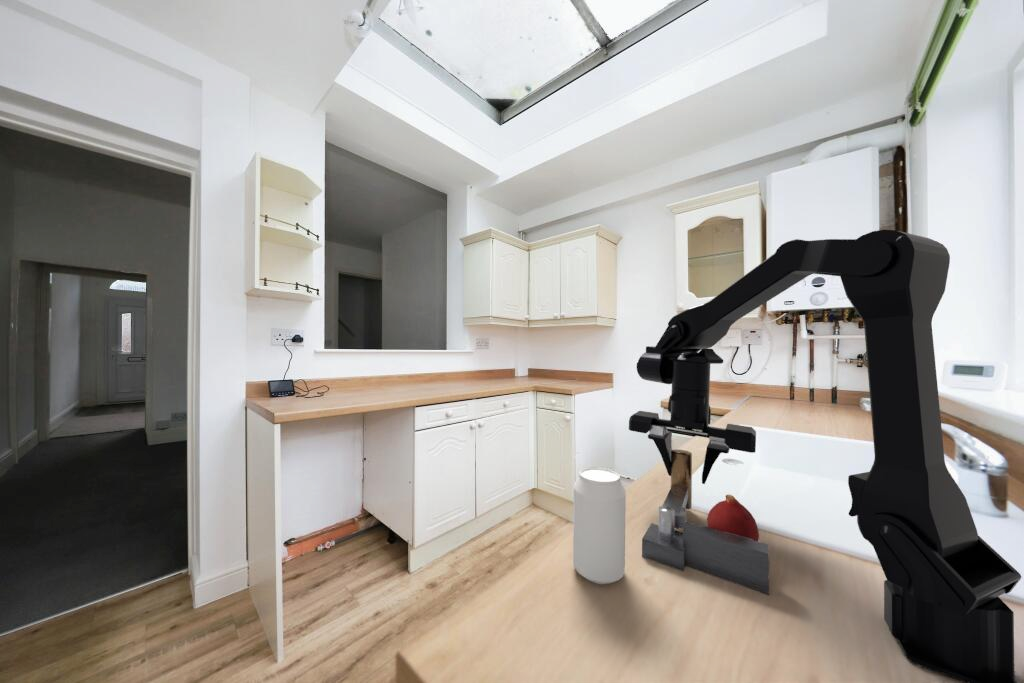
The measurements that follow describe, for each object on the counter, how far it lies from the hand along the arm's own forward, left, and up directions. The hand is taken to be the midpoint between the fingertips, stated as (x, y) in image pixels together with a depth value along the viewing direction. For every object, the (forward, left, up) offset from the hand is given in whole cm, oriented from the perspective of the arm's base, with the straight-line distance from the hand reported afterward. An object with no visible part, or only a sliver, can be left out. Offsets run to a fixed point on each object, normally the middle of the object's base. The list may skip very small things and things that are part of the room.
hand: (686, 479), depth 58 cm
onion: (-7, +10, -6) cm, 14 cm away
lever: (0, +6, -5) cm, 8 cm away
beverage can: (+6, +24, -6) cm, 26 cm away
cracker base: (-4, +15, -6) cm, 17 cm away
